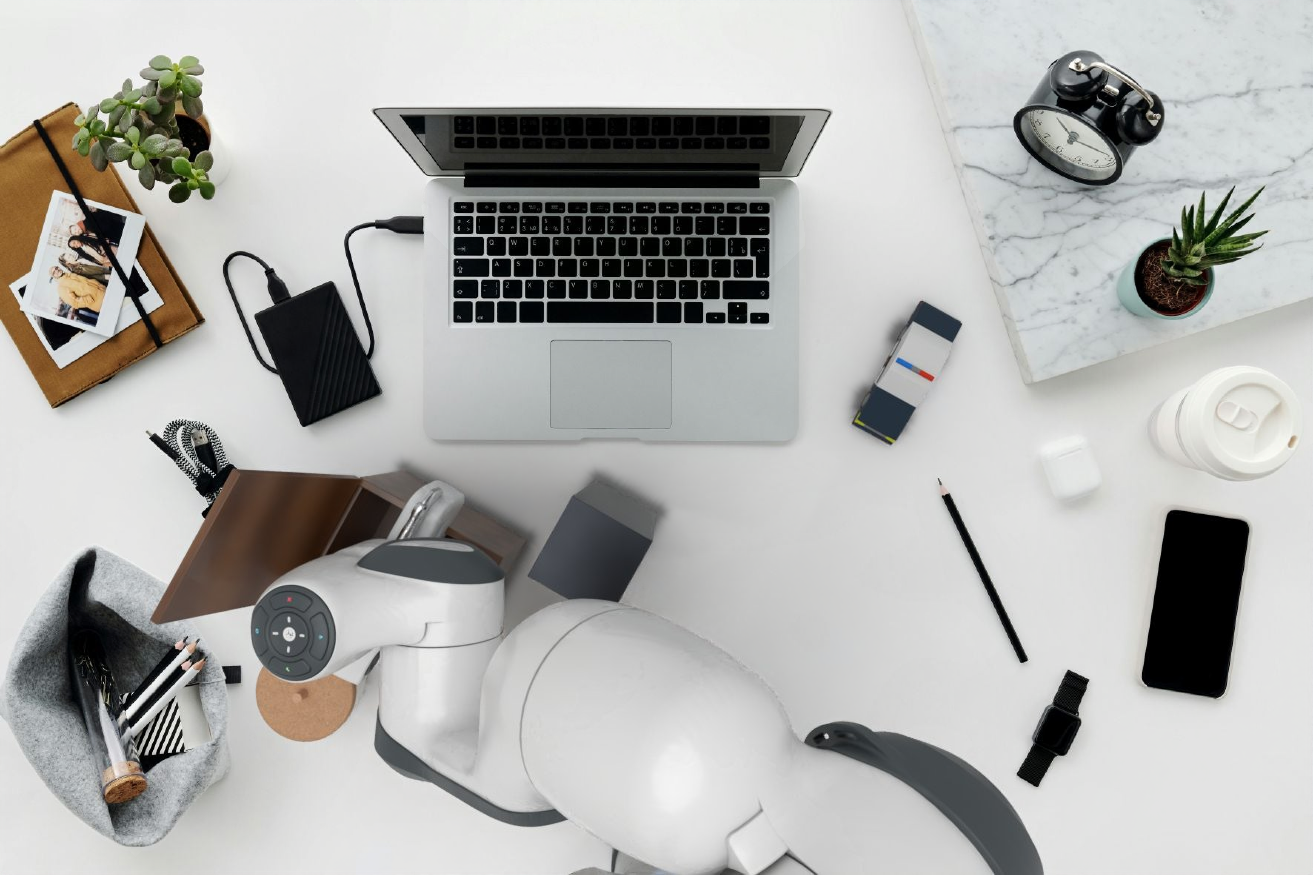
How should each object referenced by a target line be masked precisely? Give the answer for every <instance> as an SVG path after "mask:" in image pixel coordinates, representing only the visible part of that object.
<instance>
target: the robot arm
mask: <svg viewBox="0 0 1313 875" xmlns="http://www.w3.org/2000/svg"><path fill="white" fill-rule="evenodd" d="M465 495H466V494H464V492H462V491H460V490H459V489H457V488H456V487H453V485H450V484H449V483H447V482H445V481H442V480H439V479H438V480H433V481H431V482H429V483H428V484H427V485H425V486H423V487H422V488H420V489H419V490H417V491H416V492H415V493H414V494H413V496H412V497H411V498H410V499H409V501H408V502H407V504H406V506H405V507H404V509H403V511H402V512H401V514H400V516H399V518H398V520H397V521H396V523H395V525H394V527H393V528H392V530H391V532H390V534H389V536H388V537H387V539H371V540H367V541H364V542H361V543H358V544H355V545H353V546H350V547H347V548H344V549H342V550H339V551H337V552H335V553H334V554H331V555H326V556H323V557H320V558H317V559H314V560H312V561H309V562H307V563H305V564H303V565H301V566H299V567H297V568H295V569H293V570H291V571H289V572H288V573H286V574H284V575H283V576H281V577H280V578H278V579H277V580H276V581H274V582H273V583H272V584H271V585H270V586H269V587H268V588H267V589H266V590H265V591H264V592H263V593H262V595H261V596H260V598H259V599H258V601H257V603H256V605H254V606H253V610H252V613H251V619H250V639H251V645H252V648H253V650H254V653H255V655H256V657H257V660H258V661H259V662H260V663H261V665H262V667H263V666H264V667H265V668H266V669H267V670H268V671H269V672H270V673H271V674H273V675H274V676H275V677H277V678H279V679H281V680H284V681H287V682H291V683H303V682H310V681H313V680H317V679H320V678H323V677H325V676H328V675H330V674H334V675H335V676H337V677H339V678H341V679H344V680H346V681H348V682H351V683H353V684H356V685H358V684H360V683H361V682H362V681H364V680H365V679H366V680H367V678H368V676H369V675H370V673H371V672H372V671H373V670H374V668H375V666H376V665H377V663H378V661H379V677H378V678H379V679H378V681H379V682H378V683H379V684H378V685H379V686H378V705H377V710H376V721H375V730H374V741H373V746H374V750H375V752H376V754H377V755H378V756H379V757H380V758H381V759H382V761H383V762H384V763H385V764H386V765H388V767H389V768H391V769H392V770H393V771H395V772H396V773H397V774H399V775H401V776H403V777H405V778H407V779H410V780H415V781H420V782H424V783H425V782H426V783H431V784H433V785H435V786H436V787H438V788H439V789H441V790H443V791H445V792H446V793H448V794H449V795H451V796H453V797H455V799H458V800H459V801H461V802H463V803H464V804H466V805H468V806H470V808H473V809H475V811H478V812H480V813H481V814H484V815H485V816H487V817H490V818H491V819H494V820H496V821H498V822H501V823H504V824H506V825H511V826H516V827H521V828H539V827H540V828H541V827H545V826H550V825H555V824H558V823H563V822H565V821H570V822H571V823H573V824H574V825H575V826H577V827H579V828H580V829H582V831H585V833H588V834H589V835H591V836H592V837H593V838H596V839H598V840H599V841H601V842H602V843H604V844H606V845H607V846H609V847H610V848H612V850H611V863H610V864H611V866H610V871H609V870H605V869H601V868H598V867H596V866H590V867H585V868H581V869H578V870H574V871H572V872H571V873H568V875H1045V873H1044V872H1045V871H1044V866H1043V863H1042V860H1041V856H1040V853H1039V851H1038V849H1037V847H1036V845H1035V843H1034V840H1033V839H1032V838H1031V836H1030V833H1029V831H1028V829H1027V828H1026V826H1025V823H1024V822H1023V819H1022V818H1021V817H1020V815H1019V813H1018V812H1017V810H1016V809H1015V807H1014V806H1013V805H1012V803H1011V802H1010V801H1009V799H1008V798H1007V796H1005V794H1003V793H1002V792H1001V790H1000V789H999V787H997V786H996V785H995V784H994V783H993V782H992V781H991V780H990V779H989V778H988V777H987V776H985V775H984V774H983V773H982V772H981V771H980V770H978V769H977V768H975V766H973V765H972V764H970V763H969V762H968V761H966V760H964V759H963V758H961V757H960V756H958V755H956V754H954V753H952V752H950V751H948V750H947V749H943V748H941V747H938V746H936V745H935V744H931V743H929V742H926V741H923V740H920V739H917V738H914V737H910V736H907V735H904V734H902V733H899V732H891V731H885V730H884V731H883V730H881V731H874V730H872V729H871V728H869V727H868V726H866V725H864V724H861V723H857V722H855V721H848V720H847V721H846V720H837V721H832V722H828V723H824V724H821V725H818V726H816V727H815V728H812V730H810V731H809V732H808V734H807V735H806V737H805V738H804V741H803V740H802V739H800V738H799V737H800V736H798V735H797V734H796V732H795V730H794V728H793V726H792V723H791V721H790V718H789V715H788V713H787V711H786V708H785V707H784V705H783V702H782V701H781V700H780V698H779V696H777V694H776V692H775V691H774V690H773V689H772V688H771V687H770V686H769V685H768V683H766V681H765V680H764V679H762V678H761V677H760V676H759V675H758V674H756V673H755V672H754V671H753V670H752V669H750V668H749V667H747V665H745V664H744V663H742V662H741V661H739V660H738V659H736V658H735V657H734V656H732V655H730V654H729V653H728V652H726V651H725V650H723V649H722V648H721V647H719V646H717V645H716V644H714V643H713V642H711V641H710V640H708V639H706V638H704V637H702V636H701V635H699V634H697V633H696V632H694V631H693V630H690V629H687V628H685V627H683V626H682V625H679V624H677V623H675V622H673V621H671V620H668V619H666V618H664V617H661V616H659V615H657V614H654V613H651V612H649V611H646V610H643V609H641V608H638V607H636V606H632V605H629V604H626V603H622V602H619V603H618V602H613V601H607V600H599V599H571V600H569V599H566V600H562V601H557V602H555V603H552V604H550V605H547V606H545V607H543V608H540V609H539V610H537V611H535V612H534V613H532V614H530V615H529V616H528V617H526V618H525V619H523V620H522V621H521V622H520V623H518V624H517V625H516V626H515V627H514V628H513V629H512V630H511V631H510V632H509V633H508V634H507V635H506V637H505V638H504V629H505V580H504V576H505V574H504V573H503V571H502V569H501V568H500V567H499V565H498V564H497V563H496V562H495V561H494V560H493V559H492V558H491V557H489V556H488V555H487V554H486V553H484V552H483V551H482V550H480V549H479V548H478V547H476V546H475V545H473V544H471V543H468V542H465V541H461V540H456V539H449V538H445V536H446V534H445V531H446V530H447V528H448V526H451V525H452V524H453V522H454V520H455V518H456V517H457V515H458V513H459V511H460V510H461V508H462V506H463V504H465V500H466V496H465ZM826 735H827V736H828V738H826V737H825V736H826Z"/></svg>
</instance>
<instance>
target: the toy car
mask: <svg viewBox="0 0 1313 875" xmlns="http://www.w3.org/2000/svg"><path fill="white" fill-rule="evenodd" d="M962 326H963V322H962V321H961V320H959V319H957V318H956V317H953V316H952V315H950V314H948V313H946V312H945V311H942V310H941V309H939V308H937V307H935V306H934V305H932V304H929V303H928V302H926V301H924V300H920V301H919V302H918V304H917V305H916V307H915V309H914V311H913V312H912V314H911V315H910V317H909V319H908V321H907V324H906V325H905V326H904V327H903V329H902V330H901V331H900V333H899V335H898V337H897V340H896V343H895V345H894V346H893V348H892V350H891V352H890V354H889V355H888V357H887V359H886V361H885V362H884V364H883V366H882V368H881V369H880V372H879V373H878V375H877V377H876V378H875V380H874V382H873V384H872V386H871V388H870V391H868V392H867V394H866V395H865V396H864V398H863V400H862V401H861V404H860V407H859V409H858V411H857V413H856V414H855V416H854V418H853V420H852V422H851V425H853V426H854V427H856V428H858V429H860V430H861V431H863V432H865V433H867V434H869V435H871V436H872V437H874V438H876V439H878V440H880V441H881V442H884V443H885V444H887V445H889V446H892V445H893V444H894V443H895V442H897V440H898V439H899V437H900V436H901V434H902V433H903V431H904V429H905V427H906V426H907V424H908V422H909V421H910V419H911V417H912V415H913V414H914V412H915V411H916V409H917V407H918V406H919V405H920V403H921V402H922V401H923V399H924V398H925V397H926V395H927V394H928V393H929V392H930V390H931V388H932V387H933V385H934V384H935V382H936V380H937V378H938V376H939V375H940V373H941V371H942V369H943V368H944V365H945V363H946V362H947V359H948V357H949V356H950V353H951V350H952V347H953V344H954V341H955V340H956V339H957V336H958V333H959V332H960V330H961V328H962Z"/></svg>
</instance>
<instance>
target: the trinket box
mask: <svg viewBox="0 0 1313 875" xmlns="http://www.w3.org/2000/svg"><path fill="white" fill-rule="evenodd" d="M366 682H367V678H366V679H365V680H364V681H362V682H361V683H360V684H358V685H356V684H353V683H351V682H348V681H346V680H344V679H341V678H339V677H337V676H335V675H334V674H330V675H328V676H325V677H323V678H320V679H317V680H313V681H310V682H303V683H291V682H287V681H284V680H281V679H279V678H277V677H275V676H274V675H273V674H271V673H270V672H269V671H268V670H267V669H266V668H265V667H264V666H263V665H262V667H261V669H260V671H259V674H258V676H257V680H256V684H255V701H256V705H257V710H258V711H259V714H260V716H261V717H262V719H263V721H264V722H265V723H266V725H267V726H268V727H269V728H270V729H271V730H272V731H273V732H275V733H276V734H278V735H279V736H281V737H283V738H285V739H288V740H291V741H293V742H299V743H310V742H317V741H319V740H320V741H321V740H323V739H326V738H327V737H329V736H331V735H333V734H334V733H336V731H338V730H339V729H340V728H341V727H342V726H343V725H344V724H345V723H346V722H347V720H348V719H349V718H350V717H351V715H353V713H354V712H355V710H356V709H357V707H358V706H359V704H360V702H361V700H362V698H363V696H364V693H365V689H366V684H367V683H366Z"/></svg>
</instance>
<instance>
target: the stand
mask: <svg viewBox="0 0 1313 875" xmlns="http://www.w3.org/2000/svg"><path fill="white" fill-rule="evenodd" d="M656 519H657V512H656V511H655V510H654V509H652V508H650V507H648V506H646V505H644V504H642V503H641V502H639V501H637V500H636V499H634V498H632V497H631V496H628V495H627V494H625V493H623V492H621V491H619V489H616V488H614V487H612V486H611V485H609V484H607V483H606V482H604V481H602V480H600V479H597V478H596V479H594V481H592V482H591V483H589V484H588V485H587V486H585V487H584V488H582V489H581V490H579V491H578V492H576V493H575V494H573V495H572V496H571V497H570V499H569V501H568V503H567V504H566V506H565V508H564V510H563V512H562V513H561V515H560V517H559V519H558V521H557V522H556V524H555V526H554V528H553V529H552V531H551V533H550V535H549V537H548V538H547V540H546V542H545V544H544V545H543V547H542V549H541V551H540V552H539V555H538V557H537V559H536V560H535V562H534V563H533V565H532V567H531V568H530V571H529V572H528V574H527V577H528V578H529V579H531V580H533V581H535V582H537V583H538V584H540V585H541V586H544V587H545V588H547V589H549V590H551V591H552V592H554V593H556V594H558V595H559V596H561V597H563V598H565V599H566V600H571V599H599V600H607V601H613V602H618V603H620V601H621V599H622V598H623V596H624V594H625V592H626V590H627V589H628V586H629V585H630V583H631V581H632V579H633V578H634V576H635V574H636V572H637V570H638V569H639V567H640V565H641V564H642V562H643V560H644V558H645V556H646V555H647V552H648V551H649V549H650V548H651V546H652V544H653V542H654V534H655V527H656V526H655V525H656V521H657V520H656Z"/></svg>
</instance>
